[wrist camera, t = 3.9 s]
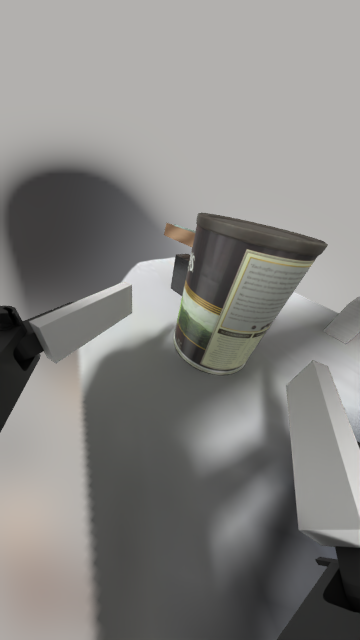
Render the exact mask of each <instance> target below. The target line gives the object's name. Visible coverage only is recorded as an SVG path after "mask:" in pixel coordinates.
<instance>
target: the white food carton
mask: <svg viewBox="0 0 360 640" xmlns="http://www.w3.org/2000/svg"><path fill="white" fill-rule="evenodd" d="M323 332H325V333H327V334H329V335H331V336H332V337H334V338H336V339H338V340H340V341H341V342H343V343H345V344H347V343H348V342H349V341H350V340H351V339H353V338H354V337H355V336H356V335H357V334H358V333H359V332H360V297H357V298H356V299H355V300H353V301H352V302H350V303H349V304H348V305H347V306H346V307H345V308H344V309H343V310H342V311H341V313H339V314H338V315H337V317H336V318H335V319H334V320H333V321H332V322H331V323H330V324H329V325H328V326H327V327H326V328H325V329H324V330H323Z"/></svg>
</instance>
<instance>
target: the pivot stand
mask: <svg viewBox="0 0 360 640" xmlns="http://www.w3.org/2000/svg"><path fill="white" fill-rule="evenodd" d="M190 256H191V255H189V254H180V255H179V254H178V255H176V257H175V264H174V270H173V277H172V283H171V289H173V290H174V291H175V292H177V293H178V294H180V295H181V296H182V295H183V291H184V286H185V281H186V276H187V271H188V266H189V261H190Z"/></svg>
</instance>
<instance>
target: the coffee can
mask: <svg viewBox="0 0 360 640" xmlns="http://www.w3.org/2000/svg"><path fill="white" fill-rule="evenodd" d="M326 247H327V244H326V243H325V242H324V241H321V240H318V239H315V238H312V237H308V236H305V235H301V234H298V233H294V232H290V231H287V230H283V229H278V228H275V227H271V226H266V225H262V224H257V223H254V222H249V221H244V220H240V219H234V218H230V217H225V216H220V215H214V214H208V213H199V214H198V216H197V228H196V232H195V237H194V242H193V247H192V252H191V256H190V261H189V266H188V271H187V276H186V281H185V286H184V291H183V295H182V300H181V305H180V310H179V315H178V319H177V324H176V329H175V332H174V337H173V339H174V345H175V348H176V350H177V351H178V353H179V354H180V355H181V357H182V358H183V359H184V360H185V361H186V362H188V363H189V364H190V365H192V366H193V367H195V368H197V369H199V370H201V371H204V372H207V373H211V374H216V375H227V374H233V373H235V372H237V371H239V370H240V369H241V368H243V367H244V365H245V364H246V362H247V360H248V358H249V356H250V355H251V353H252V352H253V350H254V349H255V348H256V346H257V345H258V343H259V342H260V340H261V339H262V337H263V336H264V334H265V333H266V331H267V330H268V328H269V327H270V326H271V324H272V322H273V321H274V319H275V318H276V317H277V315H278V314H279V312H280V311H281V309H282V308H283V306H284V305H285V303H286V302H287V300H288V299H289V297H290V296H291V295H292V293H293V292H294V290H295V289H296V287H297V286H298V284H299V283H300V281H301V280H302V278H303V277H304V275H305V274H306V272H307V271H308V269H309V268H310V267H311V265H312V264H313V262H314V261H315V259H316V258H317V256H318V255H320V254H321V253H322V252H323V251H324V250H325V248H326Z"/></svg>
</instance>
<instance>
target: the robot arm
mask: <svg viewBox="0 0 360 640" xmlns="http://www.w3.org/2000/svg"><path fill="white" fill-rule="evenodd" d="M131 313H132V285H131V284H129V283H126V282H122V283H120V284H117V285H115V286H113V287H111V288H108V289H106V290H103V291H101V292H98V293H96V294H94V295H91V296H89V297H86V298H84V299H82V300H79V301H76V302H71V303H67V304H65V305H63V306H61V307H57V308H55V309H54V310H50V311H48V312H45V313H43V314H40V315H38V316H35V317H33V318H30V319H28V320H25V321H22V320H21V318H20V316H19V314H18V312H17V311H16V309H15V308H14V307H12V306H0V432H1V430H2V428H3V426H4V425H5V423H6V421H7V419H8V417H9V415H10V413H11V411H12V410H13V408H14V406H15V404H16V402H17V400H18V398H19V396H20V394H21V393H22V391H23V389H24V387H25V385H26V383H27V381H28V380H29V378H30V376H31V374H32V372H33V370H34V368H35V366H36V365H37V362H38V361H39V359H40V353H41V352H43V351H44V352H45V354H46V356H47V358H49V359H50V360H51V361H53V362H54V363H57V362H59V361H60V360H62V359H63V358H65V357H66V356H68V355H69V354H71V353H72V352H74V351H76V350H77V349H79V348H80V347H82V346H83V345H85V344H86V343H88V342H89V341H91V340H92V339H94V338H95V337H97V336H98V335H100V334H101V333H103V332H104V331H106V330H107V329H109V328H110V327H112V326H113V325H115V324H116V323H118V322H119V321H121V320H122V319H124V318H125V317H127V316H128V315H130V314H131ZM286 391H287V402H288V414H289V425H290V437H291V448H292V460H293V471H294V483H295V494H296V506H297V517H298V529H299V530H300V531H301V532H303V533H304V534H305V535H307V536H308V537H310V538H311V539H313V540H314V541H316V542H317V543H319V544H320V545H322V546H331V547H335V548H336V553H337V558H338V560H337V559H331V558H324V557H319V558H317V559H315V560H316V562H317V563H318V565H322V566H327V568H326V570H325V571H324V572H323V574H322V576H321V577H320V578H319V580H318V581H317V583H316V584H315V586H314V587H313V588H312V590H311V591H310V593H309V594H308V596H307V597H306V598H305V600H304V601H303V603H302V604H301V606H300V607H299V609H298V610H297V611H296V613H295V614H294V616H293V617H292V619H291V620H290V621H289V623H288V624H287V626H286V627H285V629H284V630H283V631H282V633H281V634H280V636H279V637H278V639H277V640H360V443H359V442H357V441H356V438H355V435H354V433H353V430H352V428H351V425H350V422H349V420H348V417H347V415H346V412H345V409H344V407H343V404H342V402H341V399H340V396H339V394H338V391H337V389H336V386H335V383H334V381H333V378H332V376H331V373H330V371H329V368H328V366H326V365H323V364H321V363H318V362H316V361H314V360H313V361H312V362H311V363H310V364H309V365H308V366H306V367H305V368H304V369H303V370H302V371H301V372H300V373H299V374H298V375H297V376H296V377H295V378H294V379H293V380H292V381H291V382H290V383H289V384H287V385H286Z"/></svg>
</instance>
